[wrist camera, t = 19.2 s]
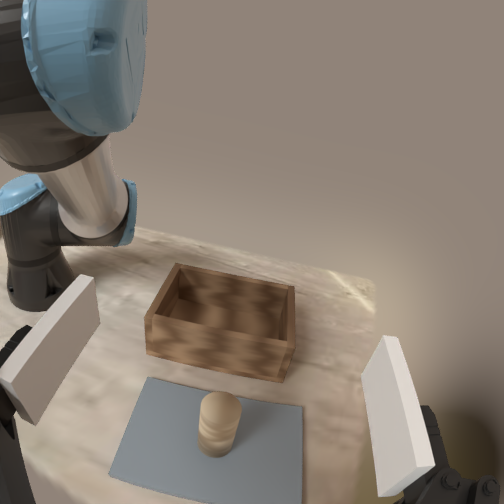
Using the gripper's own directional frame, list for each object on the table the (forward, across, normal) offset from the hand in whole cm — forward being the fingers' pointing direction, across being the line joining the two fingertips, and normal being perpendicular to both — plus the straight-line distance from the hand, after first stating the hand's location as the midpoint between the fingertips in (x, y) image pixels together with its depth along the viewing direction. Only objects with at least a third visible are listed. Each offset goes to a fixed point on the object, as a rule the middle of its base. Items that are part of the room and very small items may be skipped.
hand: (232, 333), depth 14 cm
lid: (+10, 0, -30) cm, 32 cm away
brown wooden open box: (+31, -2, -30) cm, 43 cm away
